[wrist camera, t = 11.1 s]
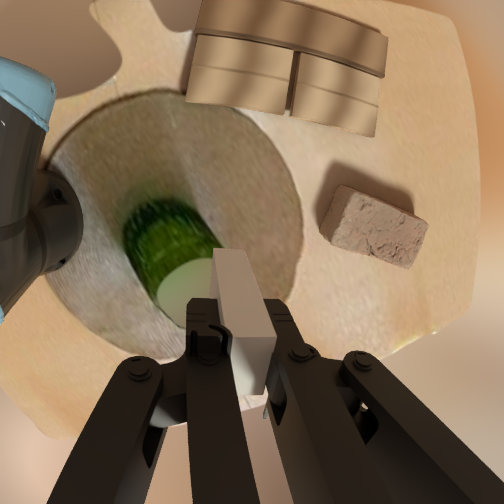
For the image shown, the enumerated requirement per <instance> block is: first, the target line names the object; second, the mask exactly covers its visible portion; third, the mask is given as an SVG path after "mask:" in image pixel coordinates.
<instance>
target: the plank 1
mask: <svg viewBox="0 0 504 504" xmlns="http://www.w3.org/2000/svg"><path fill="white" fill-rule="evenodd" d="M293 52H294V51H293V50H289V49H285V48H280V47H276V46H271V45H266V44H261V43H256V42H250V41H244V40H238V39H231V38H224V37H215V36H206V35H198V38H197V43H196V47H195V52H194V57H193V61H192V66H191V72H190V77H189V82H188V88H187V93H186V99H185V101H186V102H194V103H204V104H213V105H221V106H228V107H236V108H242V109H249V110H255V111H261V112H266V113H272V114H277V115H284V111H285V105H286V98H287V92H288V85H289V79H290V72H291V65H292V58H293Z"/></svg>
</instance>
